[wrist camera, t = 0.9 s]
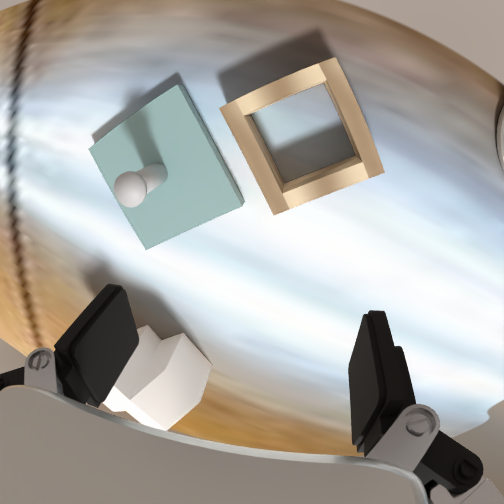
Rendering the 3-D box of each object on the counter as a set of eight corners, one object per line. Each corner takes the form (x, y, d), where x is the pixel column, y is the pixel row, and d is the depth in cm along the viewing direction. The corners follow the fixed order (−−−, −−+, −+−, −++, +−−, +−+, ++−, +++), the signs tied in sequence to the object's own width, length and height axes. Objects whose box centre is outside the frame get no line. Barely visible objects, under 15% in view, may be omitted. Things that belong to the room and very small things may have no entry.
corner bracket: (121, 334, 45) (87, 388, 35) (169, 315, 41) (133, 379, 30) (162, 377, 48) (137, 431, 38) (212, 365, 44) (190, 428, 34)
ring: (331, 62, 24) (335, 57, 21) (375, 164, 28) (384, 172, 24) (228, 107, 27) (219, 108, 24) (276, 203, 31) (273, 215, 28)
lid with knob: (182, 85, 27) (148, 81, 20) (244, 201, 32) (228, 230, 25) (95, 146, 31) (53, 161, 24) (151, 244, 36) (121, 276, 29)
